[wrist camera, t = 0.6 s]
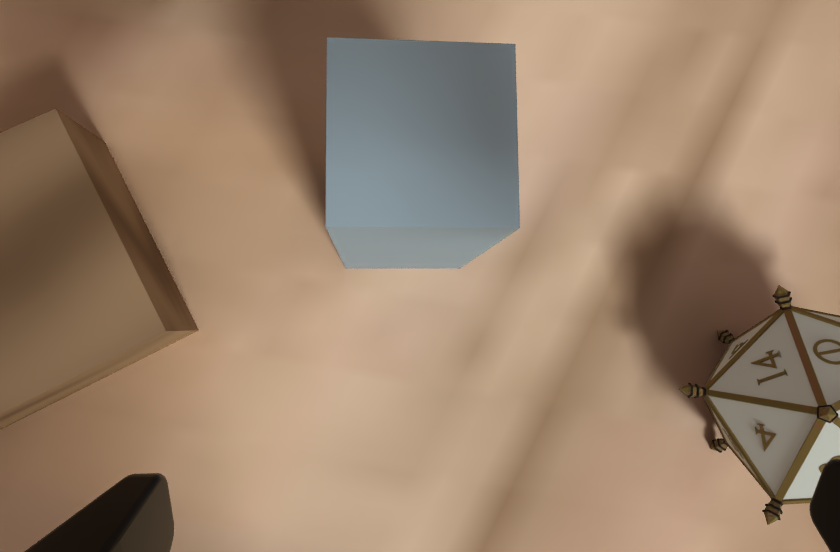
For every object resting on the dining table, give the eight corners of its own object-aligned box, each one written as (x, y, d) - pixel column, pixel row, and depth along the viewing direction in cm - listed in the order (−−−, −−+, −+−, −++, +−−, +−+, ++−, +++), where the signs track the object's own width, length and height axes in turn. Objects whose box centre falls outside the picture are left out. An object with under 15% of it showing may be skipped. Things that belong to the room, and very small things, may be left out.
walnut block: (201, 330, 23) (165, 331, 19) (-5, 433, 22) (-87, 456, 18) (108, 144, 24) (55, 108, 20) (-99, 237, 23) (-199, 219, 19)
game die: (662, 396, 28) (616, 406, 20) (785, 266, 26) (792, 218, 18) (834, 545, 24) (868, 640, 15) (999, 403, 22) (1140, 425, 13)
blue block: (459, 268, 24) (519, 227, 14) (345, 268, 24) (325, 226, 14) (458, 157, 25) (515, 44, 15) (345, 155, 24) (326, 37, 14)
